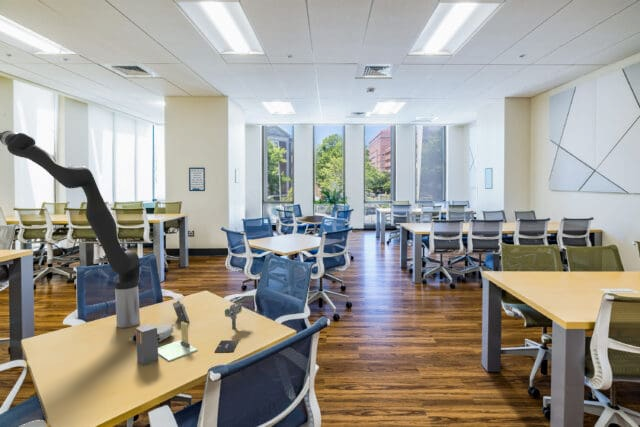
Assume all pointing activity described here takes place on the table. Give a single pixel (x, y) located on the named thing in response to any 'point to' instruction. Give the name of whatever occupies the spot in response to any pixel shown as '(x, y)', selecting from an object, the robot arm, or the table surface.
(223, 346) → the solid state drive
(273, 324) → the table surface
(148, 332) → the plug block
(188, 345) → the board
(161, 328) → the robot toy
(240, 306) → the mechanical component
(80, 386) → the table surface
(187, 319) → the electrical switch
